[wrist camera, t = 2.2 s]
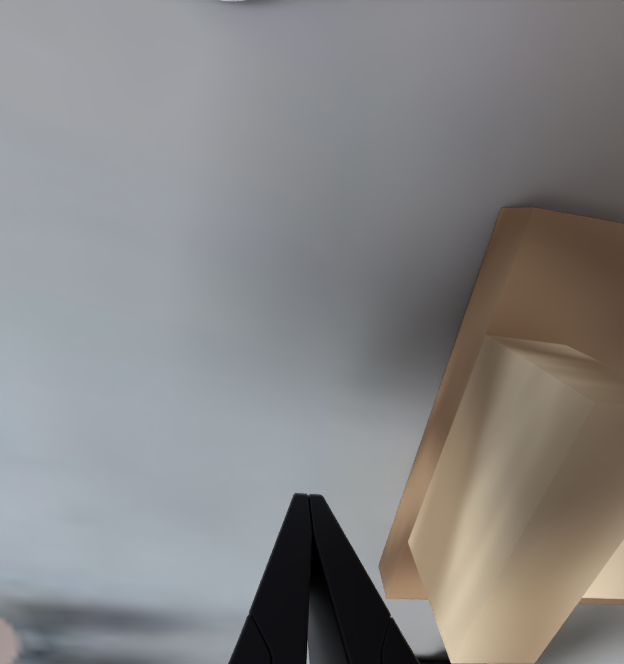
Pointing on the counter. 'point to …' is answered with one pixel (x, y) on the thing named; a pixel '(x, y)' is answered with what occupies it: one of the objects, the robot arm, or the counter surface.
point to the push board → (519, 336)
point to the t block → (524, 501)
